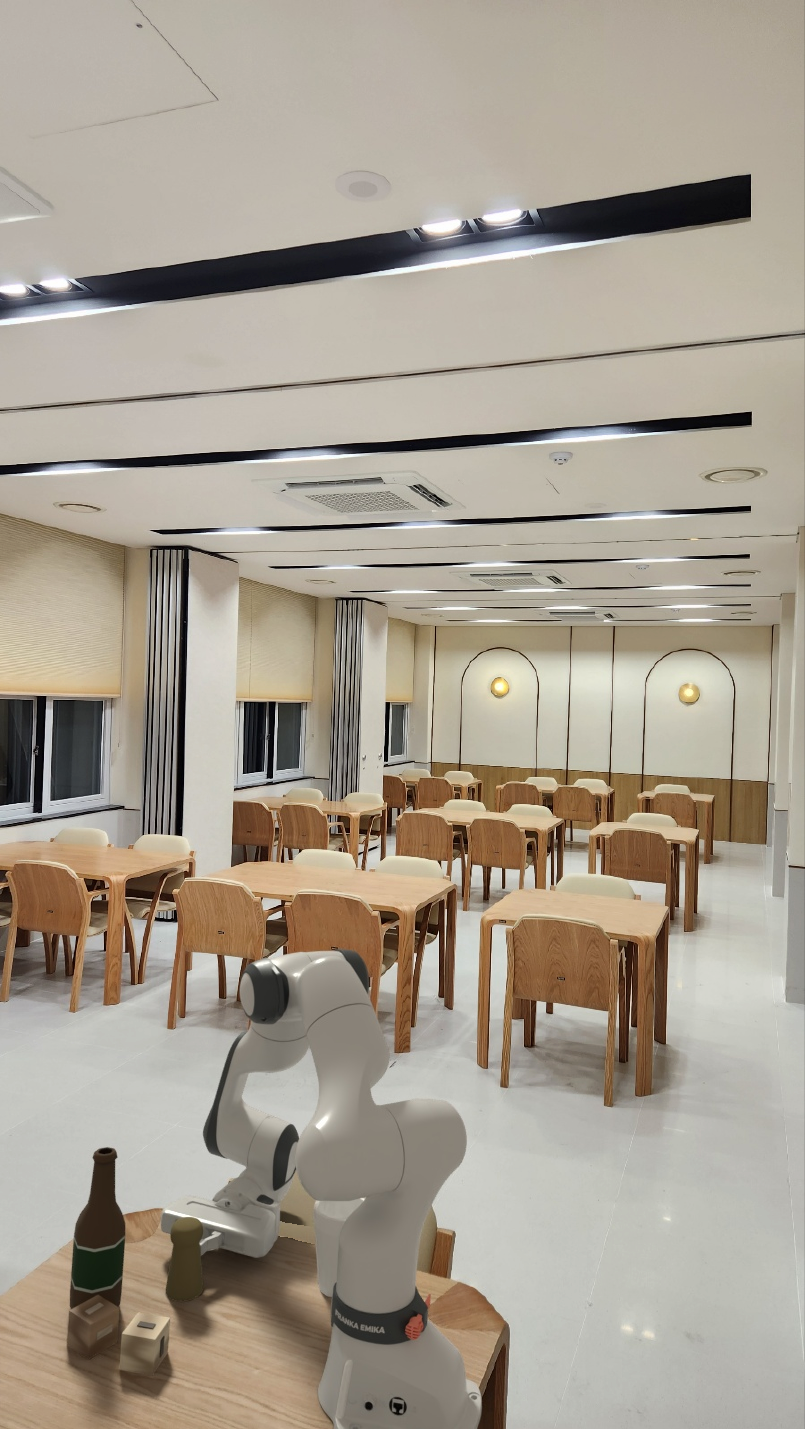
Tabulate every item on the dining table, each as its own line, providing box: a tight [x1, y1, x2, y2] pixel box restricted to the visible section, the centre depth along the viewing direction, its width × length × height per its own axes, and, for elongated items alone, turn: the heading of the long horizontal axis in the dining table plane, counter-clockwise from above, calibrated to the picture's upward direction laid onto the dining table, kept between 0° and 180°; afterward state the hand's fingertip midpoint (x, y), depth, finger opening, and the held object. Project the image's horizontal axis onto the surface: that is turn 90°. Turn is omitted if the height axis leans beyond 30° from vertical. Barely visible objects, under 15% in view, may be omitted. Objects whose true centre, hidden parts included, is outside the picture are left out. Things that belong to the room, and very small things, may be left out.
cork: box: [165, 1217, 204, 1302], centre depth 146 cm, size 6×6×11 cm
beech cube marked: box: [118, 1311, 171, 1377], centre depth 129 cm, size 5×5×5 cm
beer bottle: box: [69, 1146, 126, 1310], centre depth 141 cm, size 8×8×24 cm
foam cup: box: [312, 1197, 365, 1298], centre depth 149 cm, size 10×9×13 cm
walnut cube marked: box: [66, 1295, 120, 1361], centre depth 132 cm, size 5×5×5 cm
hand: (193, 1248), depth 148 cm, fingers closed, pressing on cork
